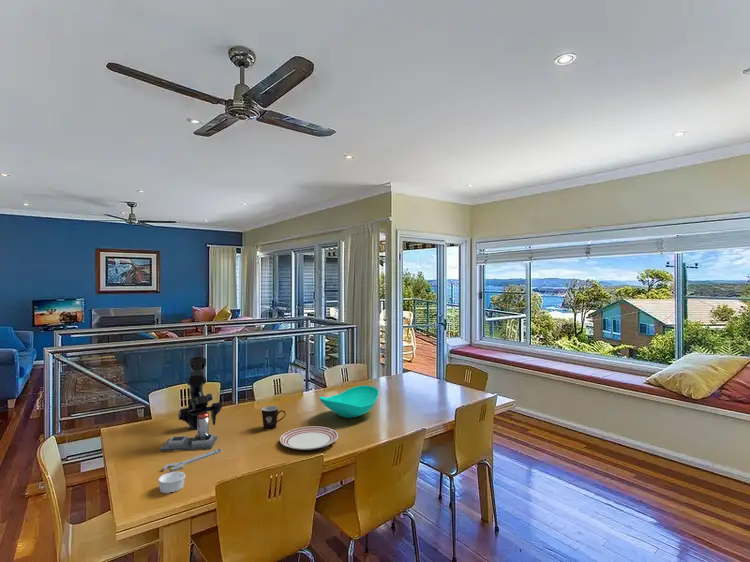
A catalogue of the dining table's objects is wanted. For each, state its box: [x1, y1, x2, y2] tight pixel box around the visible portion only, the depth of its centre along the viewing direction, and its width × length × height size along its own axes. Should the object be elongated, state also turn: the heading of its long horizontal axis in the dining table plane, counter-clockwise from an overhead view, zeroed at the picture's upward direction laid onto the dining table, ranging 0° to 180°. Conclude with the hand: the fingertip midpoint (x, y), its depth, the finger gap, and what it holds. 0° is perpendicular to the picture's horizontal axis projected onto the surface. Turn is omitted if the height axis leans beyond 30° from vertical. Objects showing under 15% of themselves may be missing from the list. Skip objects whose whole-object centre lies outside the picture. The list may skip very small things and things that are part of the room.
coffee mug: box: [261, 405, 286, 430], centre depth 214 cm, size 12×9×10 cm
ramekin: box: [158, 471, 186, 494], centre depth 151 cm, size 9×9×4 cm
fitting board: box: [159, 433, 218, 452], centre depth 191 cm, size 12×22×3 cm, turn 99°
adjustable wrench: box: [162, 448, 223, 473], centre depth 173 cm, size 25×6×2 cm, turn 140°
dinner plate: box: [279, 425, 339, 451], centre depth 195 cm, size 27×27×3 cm
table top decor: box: [319, 385, 380, 419], centre depth 235 cm, size 40×28×13 cm
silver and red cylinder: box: [196, 411, 210, 440], centre depth 192 cm, size 5×5×13 cm
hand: (204, 426), depth 190 cm, fingers open, 9 cm apart
